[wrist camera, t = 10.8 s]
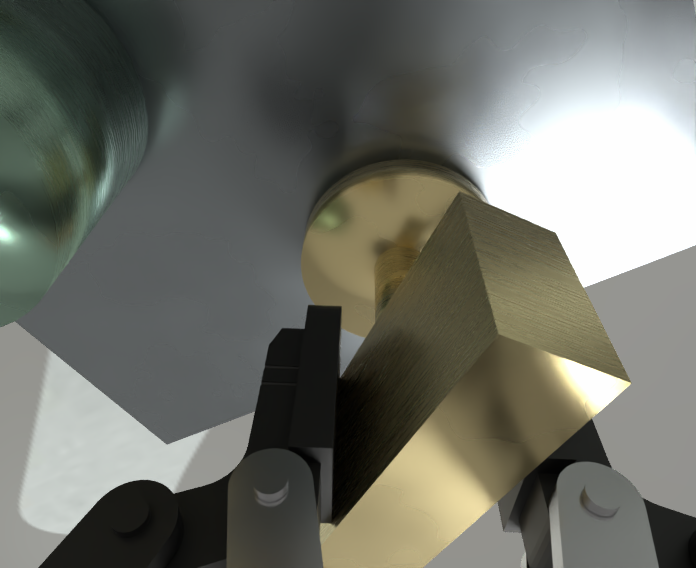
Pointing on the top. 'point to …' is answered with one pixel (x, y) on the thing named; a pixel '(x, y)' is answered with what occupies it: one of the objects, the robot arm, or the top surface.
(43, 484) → the top surface
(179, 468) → the top surface
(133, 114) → the base plate
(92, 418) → the top surface
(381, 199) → the knob
